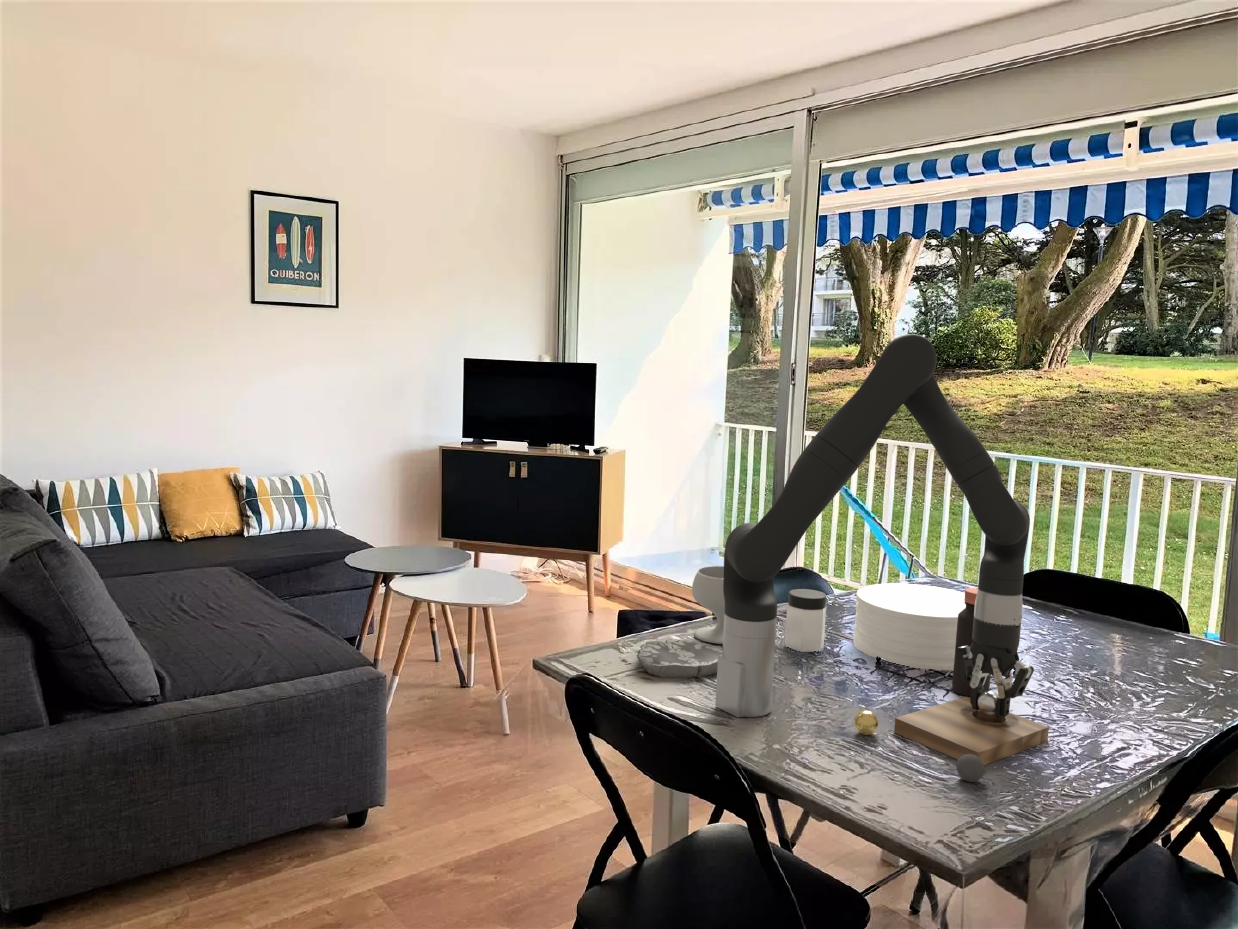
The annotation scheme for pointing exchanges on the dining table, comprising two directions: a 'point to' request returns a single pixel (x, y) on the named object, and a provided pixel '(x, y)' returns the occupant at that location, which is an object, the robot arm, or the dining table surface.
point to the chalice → (710, 601)
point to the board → (970, 731)
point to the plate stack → (908, 624)
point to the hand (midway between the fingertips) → (989, 712)
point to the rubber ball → (970, 768)
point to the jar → (805, 620)
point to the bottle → (965, 643)
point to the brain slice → (679, 658)
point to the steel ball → (988, 702)
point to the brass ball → (866, 722)
